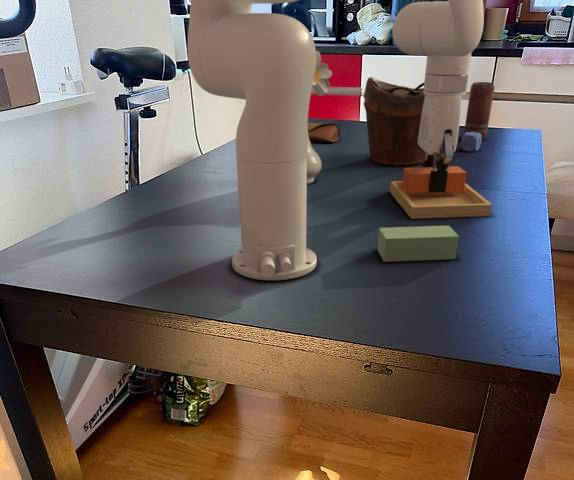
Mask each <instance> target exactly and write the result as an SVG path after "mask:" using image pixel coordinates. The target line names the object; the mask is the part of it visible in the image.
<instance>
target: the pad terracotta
mask: <svg viewBox="0 0 574 480" xmlns="http://www.w3.org/2000/svg"><path fill="white" fill-rule="evenodd" d="M431 171H433V167H422V166H421V167H403V173H402V175H403V176H402V181H403V183H402V187H403V188H404V189H405V190H406V191H407V192H408V193H430V192H429V191H428V189H429V181H430V173H431ZM466 179H467V171H466V170H464V169H463V168H461V167H460V166H458V165H455V166H449V170H448V175H447V182H446V190H445V192H462V191H464V186H465V183H466Z"/></svg>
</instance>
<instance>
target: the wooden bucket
mask: <svg viewBox="0 0 574 480" xmlns="http://www.w3.org/2000/svg"><path fill="white" fill-rule="evenodd" d="M423 90H424V82H422V83H420V84H419V85H418V86H416V87H415V88H414V87H408V86H403V85H399V84H392V83H389V82H386V81H382V80H379V79H378V78H375V77H374V76H373V77H372V76H370V77H368V78H367V80H366V83H365V88H364V92H363V99H364V100H363V101H364V102H363V107H364V110H365V118H366V128H367V130H366V131H367V138H368V150H369V158H370V160H371V161H373V162H374V163H378V164H381V165H387V166H393V167H394V166H396V167H400V166H402V167H404V166H413V165H419V164H421V163H423V156H424V150H423V149H422V148H420V147H419V145H418V135H419V128H420V121H421V114H422V109H423V103H424V99H425V94H423Z"/></svg>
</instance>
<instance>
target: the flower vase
mask: <svg viewBox="0 0 574 480" xmlns="http://www.w3.org/2000/svg"><path fill="white" fill-rule="evenodd" d="M332 76H333V71H332V70H330V69H329V65H328V64H327V63H325V62H322V56H321V53H320V51H319V50H316V67H315V74H314V80H313V85H312V89H313V91H314V92H315V94H317V96H319V97H322V96H323V95H324V93H326V94H327V93H328V92H329V91H328V88H329V87H331V86H332V85H331V83H330V81H329V80H328V79H331V77H332ZM322 165H323V163H322V160H321V157H320V155H319V154H318V153H317V152H316V150H315V149H314V148H313V146H312V142H310V140H309V135H308V124H307V185H309V184H312V183H314V182H315V177H316V176H317V175H318V174H320V172H321V170H322V169H323V166H322Z"/></svg>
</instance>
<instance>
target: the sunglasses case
mask: <svg viewBox="0 0 574 480" xmlns="http://www.w3.org/2000/svg"><path fill="white" fill-rule="evenodd" d="M308 135H309V140H310V143H318V144H319V143H335V142H337V141H339V140H340V136H341V129H340V127H339V125H338V124H336V123H331V122H329V123H328V122H327V123H317V122H313V123H312V122H308Z"/></svg>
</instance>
